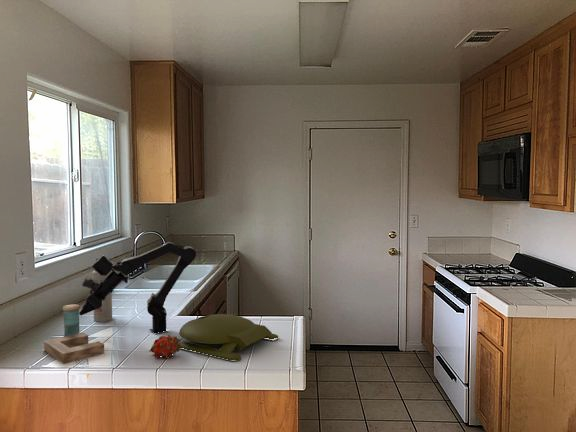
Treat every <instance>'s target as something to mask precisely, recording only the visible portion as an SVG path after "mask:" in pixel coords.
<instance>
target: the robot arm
mask: <svg viewBox="0 0 576 432" xmlns="http://www.w3.org/2000/svg"><path fill="white" fill-rule="evenodd" d="M196 252H197V251H196V250H195V249H194V247H192V246H190V245H186V246H183V245H180V244H178V243H177V244H176V243H173V242H171V241H167V242H166V243H164V244H162V245H160V246H157V247H155V248H152V249H151V250H149V251H146V252H144V253H142V254H139V255H135V256H130V257H127V258H124V259H123V260H121V261H119V262H118V261H117V262H112V261H111V260H110V259H109V258H108V256H106V255H105V254H103V255H102V256H101V257H100V259H99V258H98V259H99V260H97V261H96V260H95V262H94V263H92V265H91V266H90V267H91V269H92V270H93V271H94V270H95V271H96V272H97V273H99V274H100V275H101V276H102V275H103V276H104V275H105V276H106V275H107V274H108V273H109V272H110V271H111V273H110V274H109V275H108V276H107V277H106V278H105V279H104V280H101V281H100V282H99V281H97V280H95V279H93V277H89V276H85V278H84V281H83V282H82V284H81V285H82V287H84V288H88V289H90V291H89V294H88V295H87V297H86V298H85V303H84V304H83V305H82V307H81V310H80V311H79V316H83V315H85V314H88V313H90V312H94V310H96V309H99V308H100V307H101V306H102V304H103V300H105V299H106V297H107V296H108V295H109V294H110V293H113V292H114V291H115V289H116V288H117V287H118V286H119V285H120V284H121V283H122V282H124V283H125V284H128V283H129V280H128V279H129V275H131V274H132V273H133V272H136V271H137V270H138V269H140V268H141V267H142V266H143V265H146V264H148V263H149V262H151V261H154V260H156V259H158V258H160V257H162V256H165V255H166V254H169V253H171V254H174V255H176V256H178V258H177V261H176V264H175V265H174V267H173V268H172V269H171V272H170V273H169V275H168V277H167V278H166V279H165V281H164V283H163V284H162V285H161V287H160V289H159V290H158V291H157V292H156V293H154V292H152V293H151V295H150V297H149V298H148V299H147V300H146V301H147V304H146V309H147V313H148V314H149V315H151V316H152V320H151V322H152V327H151V328H150V329H149V331H150V330H151V331H152V332H151V331H150V332H151V333H153V332H154V333H158V332H163V331H166V328H167V309H166V308H165V307H164V305H165V302H166V299H167V297H168V295H169V294H170V292H171V290H172V289H173V287H174V286H175V284H176V283H177V281H178V280H179V278H180V276H181V275H182V273H183V272H184V270H185V269H186V268H187V267H188V266H189V265H191V264H192V262H193V261H194V260H195V259H196V257H197V253H196ZM102 299H103V300H102ZM154 333H153V334H154ZM163 333H164V332H163ZM158 334H159V333H158Z"/></svg>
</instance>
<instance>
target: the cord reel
mask: <svg viewBox="0 0 576 432" xmlns="http://www.w3.org/2000/svg"><path fill="white" fill-rule="evenodd" d="M80 307H81V306H80V304H77V303H76V304H67V305H63V306H62V311H63V330H64V331H63V332H64V335H63V336H62V337H66V336H70V335H75V334H80V333H81V330H80V314H79V313H80Z"/></svg>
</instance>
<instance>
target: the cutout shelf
mask: <svg viewBox="0 0 576 432" xmlns="http://www.w3.org/2000/svg"><path fill="white" fill-rule="evenodd" d="M43 350H44V351H45V352H46V353H48V354H49V355H50V356H52V357H53V358H54V359H56V360H57V361H58V362H60V363H61V364H68V363H72V361H73V362H76V361H80V360H84V359H87V358H88V359H89V358H92V357H96V356H99V355H103V354H105V344H104V343H103V342H101V341H99V340H98V341H93V342H89V335H88V334H87V333H85V332H80V334H75V335H70V336H66V337H63V336H61V337H57V338H53V339H48V340H43Z"/></svg>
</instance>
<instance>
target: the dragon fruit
mask: <svg viewBox="0 0 576 432" xmlns="http://www.w3.org/2000/svg"><path fill="white" fill-rule="evenodd" d="M181 342H182V341H181V340H180V338H178V337H177V336H176V335H175V336H174V335H173V336H172V335H170V334H166V336H163V335H161V336H159V338H157V339H155V340H154V342H153V344H152V346H151V348H150V349H149V353H153V354H152V357H154V358H159V357H160V356H164V357H165V358H166V359H169V358H170V357H173V356H172V354H173V355H174V354H176V353H179V352H180V350H181V349H179V348H180V343H181Z"/></svg>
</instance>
